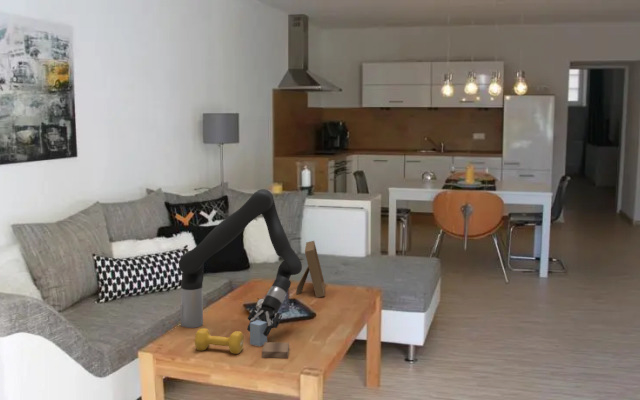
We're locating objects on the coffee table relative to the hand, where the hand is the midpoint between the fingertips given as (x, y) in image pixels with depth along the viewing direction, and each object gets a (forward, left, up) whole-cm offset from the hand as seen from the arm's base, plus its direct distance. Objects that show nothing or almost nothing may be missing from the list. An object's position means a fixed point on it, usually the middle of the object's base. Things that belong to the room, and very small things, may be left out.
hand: (256, 333), depth 273 cm
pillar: (+1, +1, -5) cm, 5 cm away
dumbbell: (-14, -7, -5) cm, 17 cm away
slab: (+9, -9, -5) cm, 14 cm away
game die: (-1, +38, -5) cm, 38 cm away
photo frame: (+19, +77, -5) cm, 79 cm away
